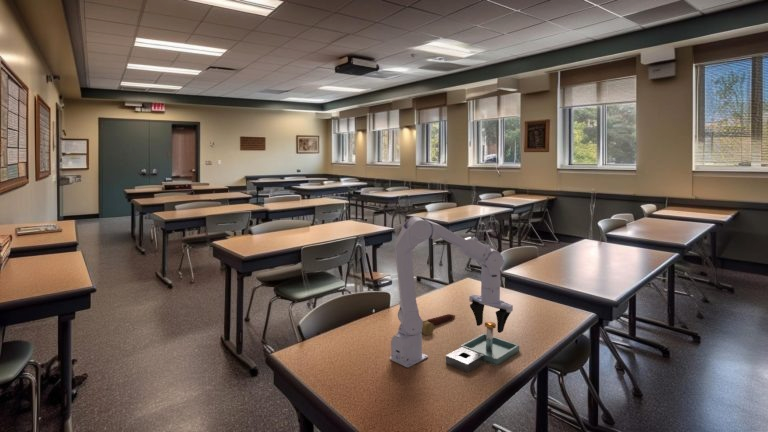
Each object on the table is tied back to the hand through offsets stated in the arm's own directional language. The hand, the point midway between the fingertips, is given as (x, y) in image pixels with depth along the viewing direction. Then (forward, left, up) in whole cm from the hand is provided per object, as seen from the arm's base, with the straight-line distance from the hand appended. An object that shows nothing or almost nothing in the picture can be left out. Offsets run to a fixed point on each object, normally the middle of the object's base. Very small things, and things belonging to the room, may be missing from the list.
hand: (489, 328), depth 131 cm
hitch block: (-12, +1, -8) cm, 14 cm away
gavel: (+5, +27, -8) cm, 28 cm away
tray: (0, 0, -8) cm, 8 cm away
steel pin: (0, 0, -7) cm, 7 cm away
